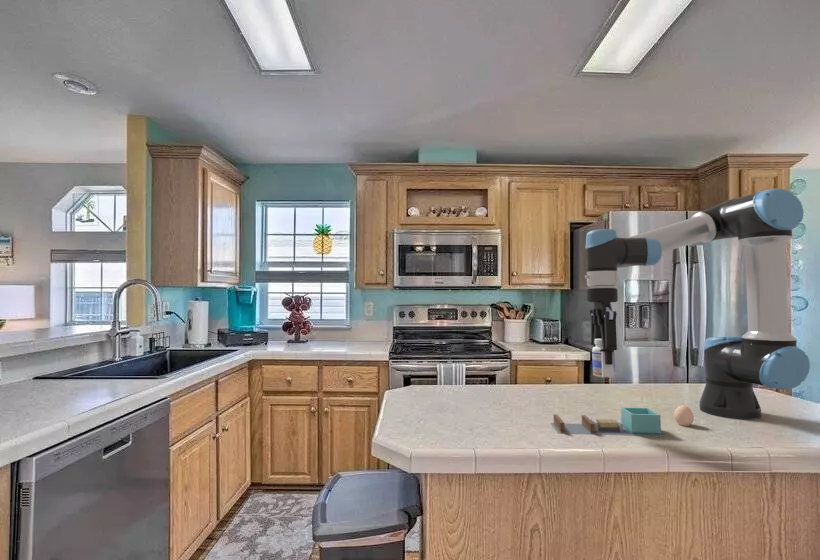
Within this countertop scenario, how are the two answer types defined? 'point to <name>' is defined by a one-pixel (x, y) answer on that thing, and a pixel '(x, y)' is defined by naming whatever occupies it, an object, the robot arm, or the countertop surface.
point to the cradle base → (609, 429)
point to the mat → (582, 430)
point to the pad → (606, 423)
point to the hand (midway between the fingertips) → (603, 374)
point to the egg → (683, 415)
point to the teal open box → (641, 421)
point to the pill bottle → (598, 358)
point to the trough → (585, 422)
